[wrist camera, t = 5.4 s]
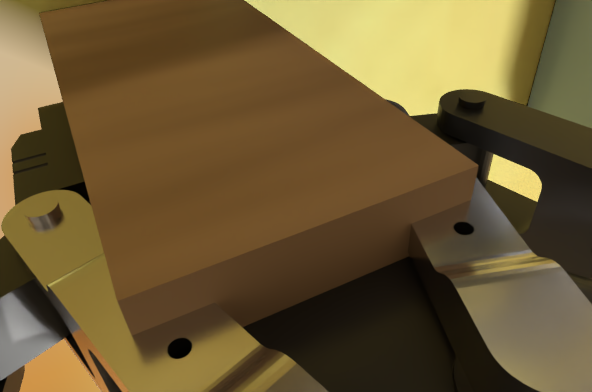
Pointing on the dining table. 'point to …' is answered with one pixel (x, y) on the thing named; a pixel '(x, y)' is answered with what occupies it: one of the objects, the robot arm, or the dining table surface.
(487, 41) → the dining table surface
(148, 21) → the block
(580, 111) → the tray
